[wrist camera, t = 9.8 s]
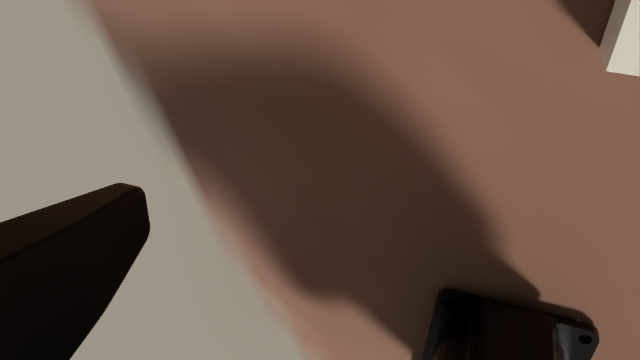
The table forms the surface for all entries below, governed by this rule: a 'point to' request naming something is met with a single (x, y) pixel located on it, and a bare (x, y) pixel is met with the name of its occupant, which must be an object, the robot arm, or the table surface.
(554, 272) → the table surface
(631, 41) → the tray
